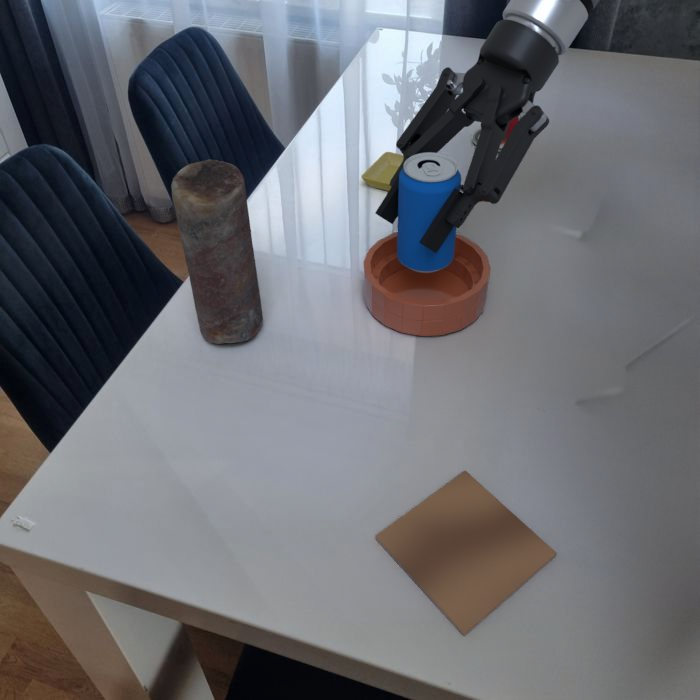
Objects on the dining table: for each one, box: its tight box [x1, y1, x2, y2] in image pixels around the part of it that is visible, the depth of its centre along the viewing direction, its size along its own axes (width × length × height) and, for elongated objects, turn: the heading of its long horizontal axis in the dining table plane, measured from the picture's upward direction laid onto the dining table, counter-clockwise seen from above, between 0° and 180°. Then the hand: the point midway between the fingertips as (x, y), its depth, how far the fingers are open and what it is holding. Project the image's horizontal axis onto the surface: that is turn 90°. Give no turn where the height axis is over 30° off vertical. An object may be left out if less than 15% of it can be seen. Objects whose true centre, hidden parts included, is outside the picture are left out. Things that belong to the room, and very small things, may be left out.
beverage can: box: [397, 152, 462, 273], centre depth 74 cm, size 6×6×12 cm
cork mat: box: [375, 470, 558, 637], centre depth 59 cm, size 11×11×1 cm
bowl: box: [363, 231, 491, 337], centre depth 81 cm, size 15×15×5 cm
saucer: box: [360, 151, 404, 192], centre depth 101 cm, size 9×9×2 cm
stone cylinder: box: [170, 158, 264, 345], centre depth 73 cm, size 8×7×20 cm
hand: (405, 232), depth 74 cm, fingers closed on beverage can, 6 cm apart
